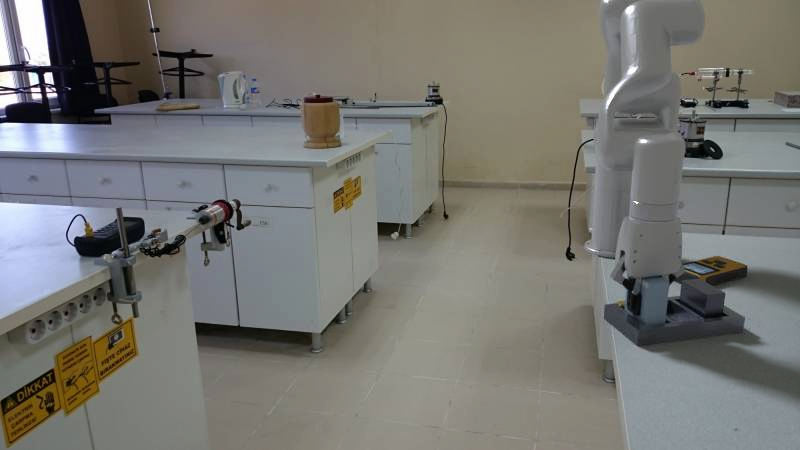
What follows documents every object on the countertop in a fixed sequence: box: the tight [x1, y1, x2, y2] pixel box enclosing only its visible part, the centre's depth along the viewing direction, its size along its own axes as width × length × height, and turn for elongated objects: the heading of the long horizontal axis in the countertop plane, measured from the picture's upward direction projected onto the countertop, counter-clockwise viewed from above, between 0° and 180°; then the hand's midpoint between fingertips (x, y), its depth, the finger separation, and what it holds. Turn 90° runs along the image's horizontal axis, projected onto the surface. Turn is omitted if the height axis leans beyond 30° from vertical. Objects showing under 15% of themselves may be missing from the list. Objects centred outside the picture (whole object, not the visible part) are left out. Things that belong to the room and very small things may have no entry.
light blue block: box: [624, 276, 670, 326], centre depth 106 cm, size 7×4×8 cm, turn 11°
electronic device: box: [673, 255, 749, 286], centre depth 130 cm, size 8×16×3 cm, turn 115°
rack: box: [603, 279, 746, 347], centre depth 108 cm, size 11×20×7 cm, turn 101°
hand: (644, 310), depth 107 cm, fingers closed on light blue block, 3 cm apart
